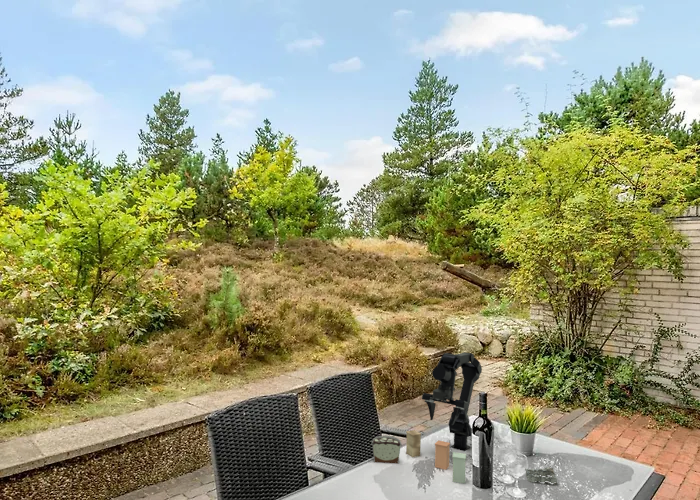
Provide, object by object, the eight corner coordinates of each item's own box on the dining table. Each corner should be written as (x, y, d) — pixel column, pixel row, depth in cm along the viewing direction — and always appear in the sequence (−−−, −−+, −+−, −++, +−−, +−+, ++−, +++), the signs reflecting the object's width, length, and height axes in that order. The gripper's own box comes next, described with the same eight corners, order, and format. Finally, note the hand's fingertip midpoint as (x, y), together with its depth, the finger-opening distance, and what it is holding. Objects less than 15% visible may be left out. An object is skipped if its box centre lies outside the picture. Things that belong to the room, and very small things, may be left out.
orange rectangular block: (438, 463, 183) (438, 440, 183) (449, 465, 180) (450, 442, 181) (434, 467, 179) (434, 443, 179) (446, 470, 176) (446, 446, 177)
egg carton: (554, 478, 175) (554, 467, 175) (557, 487, 168) (557, 476, 168) (524, 474, 178) (524, 463, 178) (527, 483, 171) (527, 472, 171)
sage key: (452, 476, 171) (452, 452, 171) (465, 478, 170) (466, 453, 170) (452, 481, 167) (452, 456, 167) (465, 483, 166) (465, 458, 166)
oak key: (414, 451, 193) (414, 430, 194) (420, 455, 189) (421, 433, 189) (405, 453, 192) (406, 431, 192) (412, 457, 187) (412, 435, 188)
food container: (401, 460, 187) (401, 436, 188) (401, 467, 181) (402, 441, 181) (371, 458, 188) (372, 434, 189) (370, 465, 182) (371, 440, 183)
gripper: (419, 377, 191) (412, 415, 186) (461, 385, 179) (455, 426, 175) (430, 381, 199) (424, 418, 194) (471, 388, 188) (466, 428, 183)
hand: (441, 422), depth 186 cm, fingers open, 9 cm apart
